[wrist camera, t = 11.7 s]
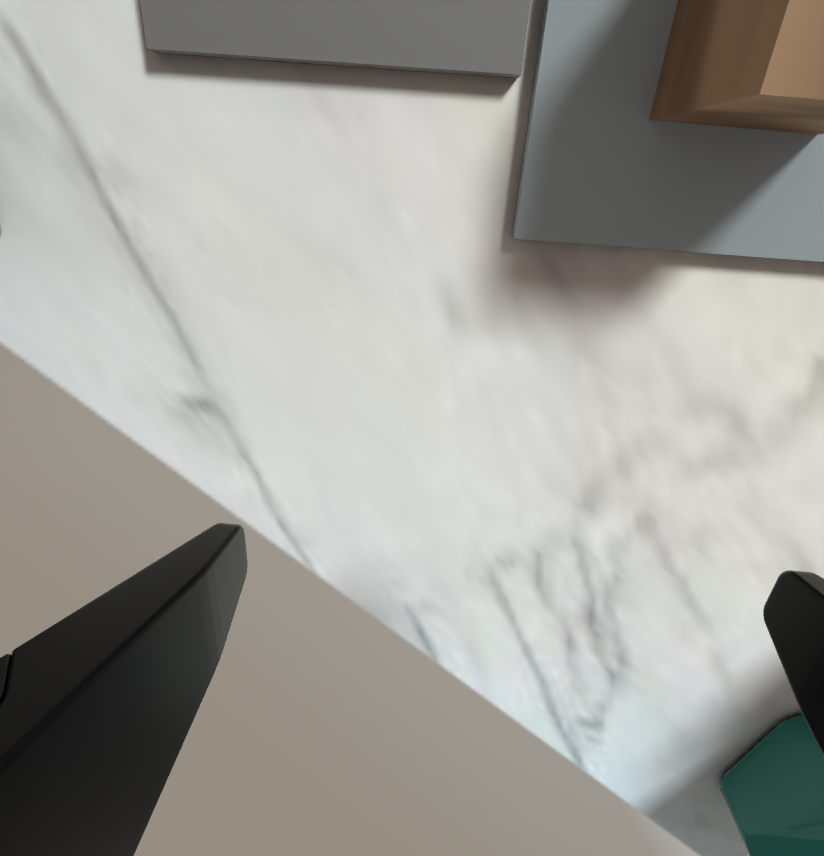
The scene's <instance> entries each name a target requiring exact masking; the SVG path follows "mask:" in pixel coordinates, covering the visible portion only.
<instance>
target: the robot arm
mask: <svg viewBox="0 0 824 856" xmlns="http://www.w3.org/2000/svg"><path fill="white" fill-rule="evenodd" d="M246 573H247V553H246V543H245V534H244V530H243V527H242V526H240V525H237V524H226V523H218V524H216V525H214V526H212V527H210V528H209V529H207V530H206V531H204V532H202V533H201V534H199V535H198V536H196V537H195V538H193V539H191V540H189V541H188V542H186V543H185V544H183V545H181V546H180V547H178V548H177V549H175V550H173V551H172V552H170V553H169V554H167V555H165V556H164V557H162V558H161V559H159V560H157V561H156V562H154V563H153V564H151V565H149V566H148V567H146V568H144V569H143V570H141V571H140V572H138V573H136V574H135V575H133V576H132V577H130V578H129V579H127V580H125V581H124V582H122V583H120V584H119V585H117V586H116V587H114V588H112V589H111V590H109V591H108V592H106V593H104V594H103V595H101V596H100V597H98V598H96V599H95V600H93V601H91V602H90V603H88V604H87V605H85V606H84V607H82V608H80V609H79V610H77V611H75V612H74V613H72V614H71V615H69V616H67V617H66V618H64V619H63V620H61V621H59V622H58V623H56V624H54V625H53V626H51V627H50V628H48V629H46V630H45V631H43V632H42V633H40V634H39V635H37V636H35V637H34V638H32V639H31V640H29V641H27V642H26V643H24V644H22V645H21V646H19V647H18V648H16V649H14V650H13V652H12V655H10V654H6V655H5V656H3V657H1V658H0V856H133V855H134V853H135V851H136V849H137V846H138V844H139V842H140V840H141V837H142V835H143V833H144V831H145V828H146V826H147V824H148V822H149V819H150V817H151V815H152V813H153V810H154V808H155V806H156V804H157V801H158V799H159V797H160V794H161V792H162V790H163V788H164V785H165V783H166V781H167V778H168V776H169V774H170V772H171V770H172V767H173V765H174V763H175V761H176V758H177V756H178V754H179V751H180V749H181V747H182V745H183V742H184V740H185V738H186V735H187V733H188V731H189V729H190V727H191V724H192V722H193V720H194V717H195V715H196V713H197V711H198V708H199V706H200V704H201V702H202V699H203V697H204V695H205V693H206V690H207V688H208V686H209V684H210V681H211V679H212V677H213V674H214V672H215V670H216V667H217V665H218V662H219V660H220V656H221V654H222V651H223V647H224V645H225V641H226V638H227V635H228V632H229V629H230V626H231V622H232V619H233V616H234V613H235V610H236V606H237V603H238V600H239V597H240V594H241V590H242V587H243V584H244V581H245V577H246ZM763 613H764V621H765V624H766V626H767V629H768V631H769V634H770V636H771V638H772V641H773V643H774V646H775V648H776V651H777V653H778V656H779V658H780V661H781V663H782V665H783V668H784V670H785V673H786V675H787V678H788V680H789V683H790V685H791V688H792V690H793V693H794V695H795V697H796V700H797V702H798V704H799V707H800V709H801V711H802V713H803V715H804V717H805V719H806V721H807V723H808V725H809V727H810V729H811V731H812V733H813V735H814V737H815V739H816V741H817V743H818V745H819V747H820V749H821V751H822V753H823V754H824V579H823V578H821V577H820V576H818V575H816V574H814V573H810V572H802V571H785V572H783V573H782V574H780V576H779V577H778V579H777V581H776V583H775V585H774V587H773V589H772V591H771V593H770V595H769V597H768V599H767V601H766V604H765V606H764V611H763Z"/></svg>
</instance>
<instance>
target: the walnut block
mask: <svg viewBox="0 0 824 856" xmlns="http://www.w3.org/2000/svg"><path fill="white" fill-rule="evenodd" d="M649 120H655V121H667V122H678V123H690V124H702V125H713V126H725V127H736V128H748V129H759V130H771V131H782V132H794V133H806V134H817V135H818V134H824V0H678V3H677V7H676V11H675V15H674V19H673V23H672V27H671V31H670V35H669V40H668V44H667V48H666V52H665V56H664V60H663V64H662V68H661V73H660V77H659V81H658V85H657V89H656V93H655V97H654V101H653V105H652V110H651V114H650V118H649Z"/></svg>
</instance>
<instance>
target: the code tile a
mask: <svg viewBox="0 0 824 856" xmlns="http://www.w3.org/2000/svg"><path fill="white" fill-rule="evenodd" d="M530 1H531V0H140V6H141V13H142V20H143V28H144V35H145V43H146V49H149V50H151V51H153V52H156V53H169V54H183V55H198V56H212V57H226V58H241V59H255V60H270V61H284V62H298V63H313V64H327V65H341V66H356V67H370V68H384V69H399V70H413V71H427V72H442V73H456V74H470V75H485V76H499V77H514V78H518V77H519V76H520V75H521V69H522V62H523V54H524V46H525V39H526V31H527V24H528V16H529V8H530Z"/></svg>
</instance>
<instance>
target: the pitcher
mask: <svg viewBox="0 0 824 856" xmlns="http://www.w3.org/2000/svg"><path fill="white" fill-rule="evenodd" d="M720 790H721V793H722V795H723V798H724V800H725V803H726V805H727V807H728V809H729V811H730V814H731V816H732V818H733V820H734V823H735V825H736V827H737V829H738V831H739V834H740V836H741V838H742V840H743V843H744V845H745V847H746V849H747V851H748V854H749V856H824V754H823V753H822V751H821V749H820V747H819V745H818V743H817V741H816V739H815V737H814V735H813V733H812V731H811V729H810V727H809V725H808V723H807V721H806V719H805V717H804V715H803V714H802V715H797V716H793V717H791V718H789V719H787V720H785V721H782V722H780V723H779V724H778V725H777V726H776V727H775V728H774V729H773V730H772V731H771V732H770V733H768V734H767V735H766V736H765V737H764V738H763V739H762V740H761V741H760V742H759V743H758V744H756V745H755V746H754V747H753V748H752V749H751V750H750V751H749V752H748V753H747V754H746V755H744V756H743V757H742V758H741V759H740V760H739V761H738V762H737V763H736V764H735V765H734V766H732V767H731V768H730V769H729V770H728V771H727V772H726V773H725V774H724V776H723V779H722V781H721V784H720Z"/></svg>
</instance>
